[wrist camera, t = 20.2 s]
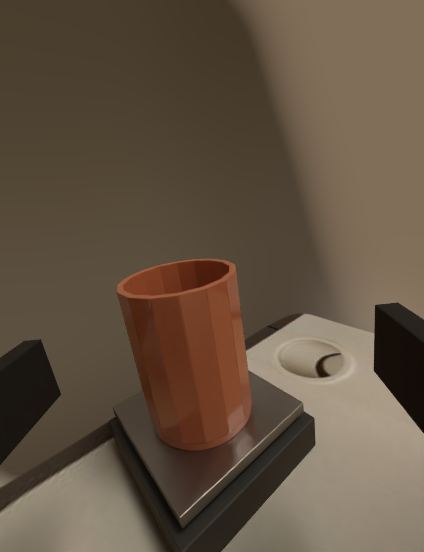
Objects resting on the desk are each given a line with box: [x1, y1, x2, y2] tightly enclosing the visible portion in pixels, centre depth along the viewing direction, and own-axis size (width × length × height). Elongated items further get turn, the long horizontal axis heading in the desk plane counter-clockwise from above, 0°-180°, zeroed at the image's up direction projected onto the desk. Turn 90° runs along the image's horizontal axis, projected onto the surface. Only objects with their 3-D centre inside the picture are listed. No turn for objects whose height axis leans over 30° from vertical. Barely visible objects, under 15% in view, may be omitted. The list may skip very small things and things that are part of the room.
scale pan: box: [113, 370, 304, 528], centre depth 20 cm, size 10×10×1 cm
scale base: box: [109, 412, 315, 552], centre depth 20 cm, size 11×11×3 cm
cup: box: [117, 259, 252, 451], centre depth 18 cm, size 7×7×10 cm
